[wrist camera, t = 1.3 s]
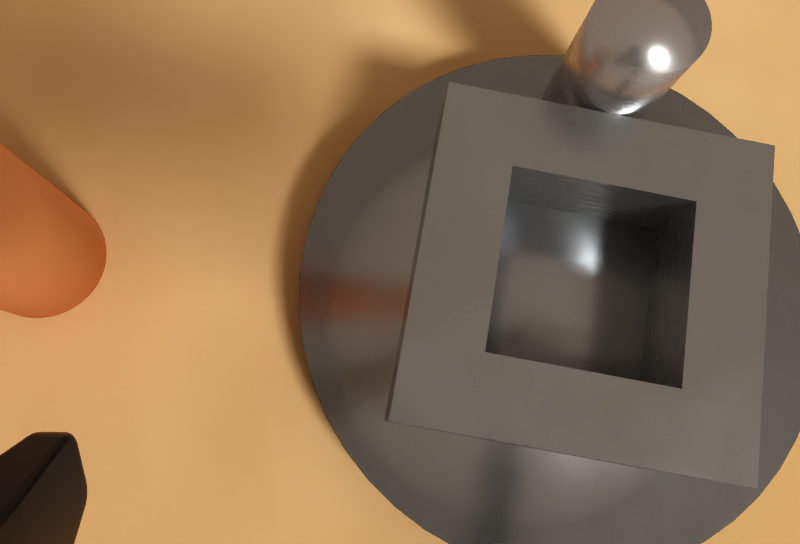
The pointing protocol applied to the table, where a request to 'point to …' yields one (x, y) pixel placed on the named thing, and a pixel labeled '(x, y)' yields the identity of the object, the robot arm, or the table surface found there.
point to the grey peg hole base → (560, 297)
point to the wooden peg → (44, 244)
